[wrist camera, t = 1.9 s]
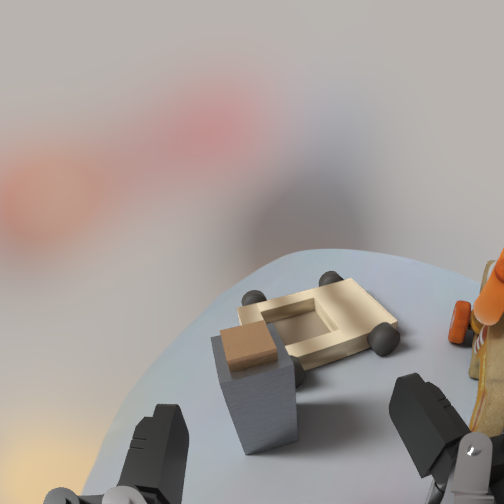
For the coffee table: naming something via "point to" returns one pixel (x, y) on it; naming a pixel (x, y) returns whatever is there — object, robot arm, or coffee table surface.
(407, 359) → the coffee table surface
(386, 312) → the chassis
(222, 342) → the block
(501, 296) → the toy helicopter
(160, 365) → the coffee table surface
